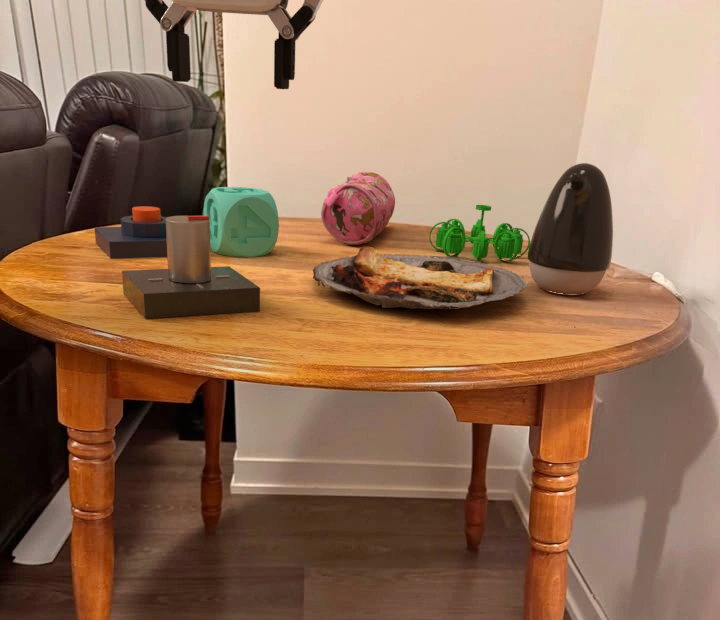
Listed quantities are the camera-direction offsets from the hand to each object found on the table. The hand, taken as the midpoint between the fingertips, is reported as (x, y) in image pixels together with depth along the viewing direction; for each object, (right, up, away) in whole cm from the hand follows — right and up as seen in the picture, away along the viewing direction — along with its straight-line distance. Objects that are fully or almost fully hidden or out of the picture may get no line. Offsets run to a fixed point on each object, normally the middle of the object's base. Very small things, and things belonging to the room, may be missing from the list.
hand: (231, 85), depth 73 cm
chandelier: (+30, -3, +45) cm, 54 cm away
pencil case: (+12, +2, +52) cm, 53 cm away
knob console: (-6, -18, +10) cm, 22 cm away
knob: (-6, -16, +9) cm, 19 cm away
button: (-16, -3, +31) cm, 35 cm away
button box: (-16, -6, +32) cm, 37 cm away
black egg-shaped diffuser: (+38, -13, +27) cm, 48 cm away
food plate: (+19, -15, +21) cm, 32 cm away
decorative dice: (-4, -5, +35) cm, 36 cm away
